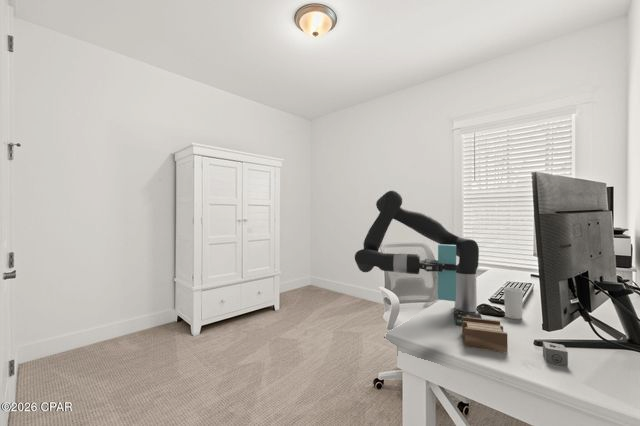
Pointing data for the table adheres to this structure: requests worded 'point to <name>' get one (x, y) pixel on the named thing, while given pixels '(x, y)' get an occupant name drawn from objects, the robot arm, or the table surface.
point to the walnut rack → (484, 335)
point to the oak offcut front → (484, 328)
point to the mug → (513, 302)
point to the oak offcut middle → (483, 326)
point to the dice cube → (555, 353)
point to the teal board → (447, 273)
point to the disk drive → (459, 315)
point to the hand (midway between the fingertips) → (455, 266)
